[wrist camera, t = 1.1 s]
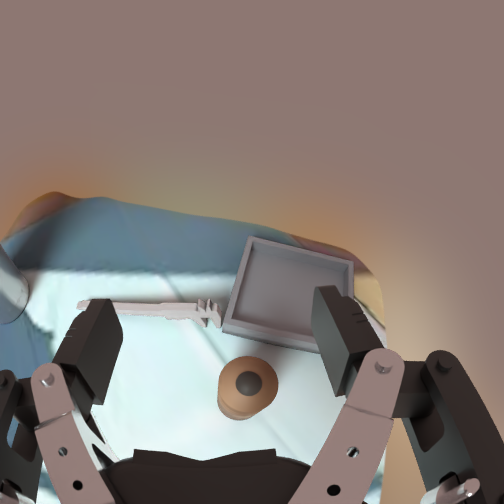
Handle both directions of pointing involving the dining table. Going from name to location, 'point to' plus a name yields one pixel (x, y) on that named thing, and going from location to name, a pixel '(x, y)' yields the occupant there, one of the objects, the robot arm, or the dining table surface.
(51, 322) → the dining table surface
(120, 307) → the caliper
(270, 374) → the cylinder
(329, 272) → the tray
